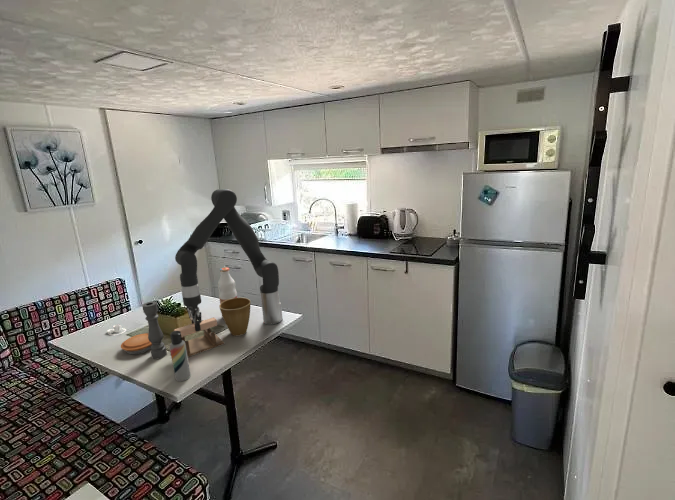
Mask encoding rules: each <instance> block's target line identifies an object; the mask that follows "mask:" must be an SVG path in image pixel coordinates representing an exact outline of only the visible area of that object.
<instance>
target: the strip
mask: <svg viewBox="0 0 675 500" xmlns="http://www.w3.org/2000/svg"><path fill="white" fill-rule="evenodd" d="M201 321H202V322H201V323H200V328H201V330H200V331H197V332H196V331H195V325H194V324H192V323H190V324H187V325H184V326H180V327H177V328H175V329H173V331H180V332H181V337H183V336H184V337H185V336H188V335H192V334H194V333H195V334H196V333H199V332H201V331H203V330H205V329H208V328H210V329H211V328H213V327H217V326H218V322H217V321H218V320H217V318H216V317H211V318H207V319H204V320H201Z"/></svg>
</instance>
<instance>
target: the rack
mask: <svg viewBox="0 0 675 500" xmlns="http://www.w3.org/2000/svg"><path fill="white" fill-rule="evenodd" d="M202 331H203V335H200V336H198V337H195V338H192V339H189V340H186V337H185V336H183V337H182V340H183V341H185V345H186V350H187V356H188V358H190V357H192V355H193V356H195V355H198V354H200V353H203V352H206V351H210V350H211V349H215V348H217V347H220V346H222V345H225V342H224V341H223V340H222V338H220V337H219V336H218V335H217V334H216V332H215V331H212V329H211V328H208V329H205V330H202Z"/></svg>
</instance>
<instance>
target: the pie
mask: <svg viewBox="0 0 675 500" xmlns="http://www.w3.org/2000/svg"><path fill="white" fill-rule="evenodd" d="M151 346H152V344H151V342H150V341H149V339H148V332H147V333H145V332H144V333H140V334H136V335H133V336H131V337H129V338H127V339H125V340H124V341H123V342H122V343H121V344H120V348H121V350H123V351H125V352H126V353H127V354H129V355H139V354H143V353H146V352H148V351H151Z"/></svg>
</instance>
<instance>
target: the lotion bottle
mask: <svg viewBox="0 0 675 500" xmlns="http://www.w3.org/2000/svg"><path fill="white" fill-rule="evenodd" d="M169 335H170V342H171V343H170V344H169V351H170V357H171V361H172V366H173V367H172V368H173V372H174V378H175V380H176V381H177V382H185V381H186V380H189V379H190V377H191V375H192V374H191V368H190V362H189V357H188V356H187V350H186V345H185V341H186V340H185V341H183V340H182V337H181V332H180V331H174V330H173V331H171V332H170V334H169Z"/></svg>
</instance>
